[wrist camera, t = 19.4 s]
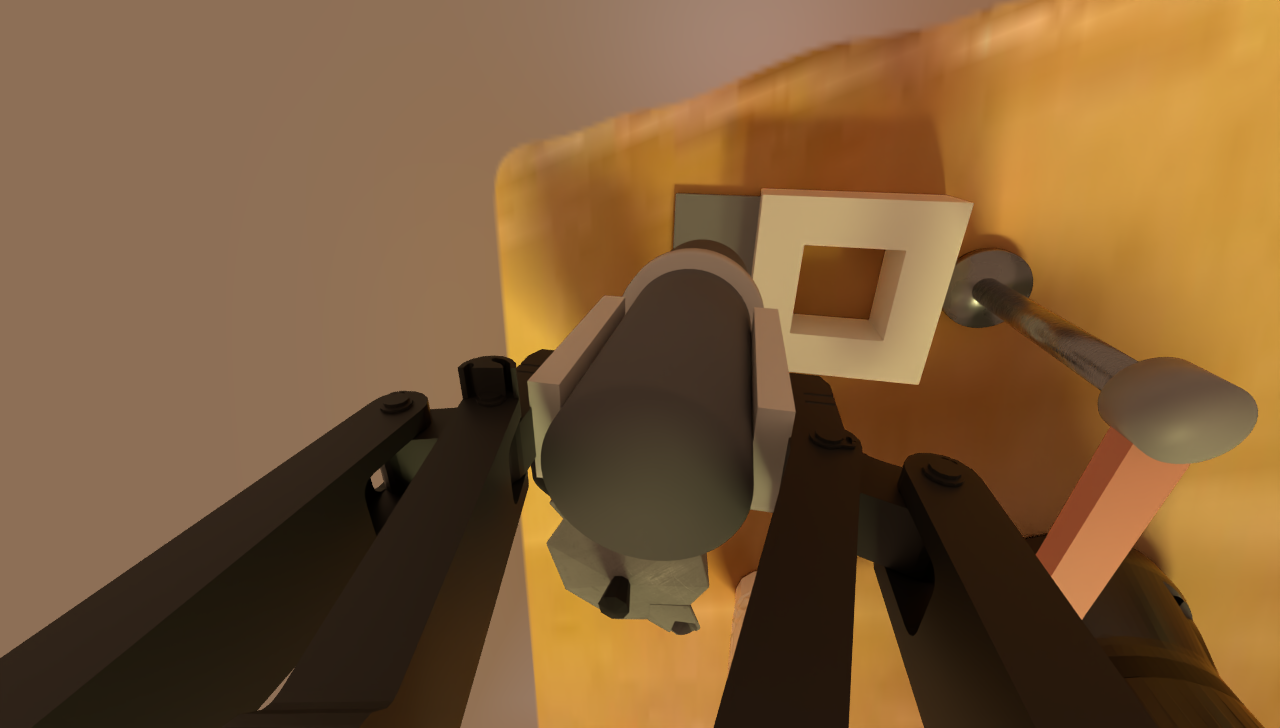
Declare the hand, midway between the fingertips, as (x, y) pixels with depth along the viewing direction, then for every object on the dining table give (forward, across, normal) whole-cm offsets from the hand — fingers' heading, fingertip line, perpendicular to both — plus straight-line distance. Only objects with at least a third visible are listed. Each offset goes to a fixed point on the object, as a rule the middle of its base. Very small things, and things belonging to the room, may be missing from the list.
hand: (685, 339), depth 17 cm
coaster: (+18, 0, 0) cm, 18 cm away
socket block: (+18, -8, +2) cm, 20 cm away
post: (+18, -17, +2) cm, 25 cm away
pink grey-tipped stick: (+4, -17, +9) cm, 19 cm away
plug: (+6, 0, 0) cm, 6 cm away
